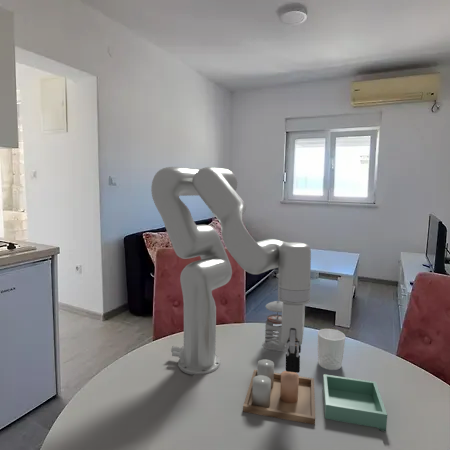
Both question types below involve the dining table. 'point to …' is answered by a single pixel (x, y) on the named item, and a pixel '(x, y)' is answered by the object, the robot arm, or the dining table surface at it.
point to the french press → (274, 327)
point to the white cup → (330, 348)
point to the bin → (353, 401)
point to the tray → (280, 409)
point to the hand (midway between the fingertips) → (293, 361)
